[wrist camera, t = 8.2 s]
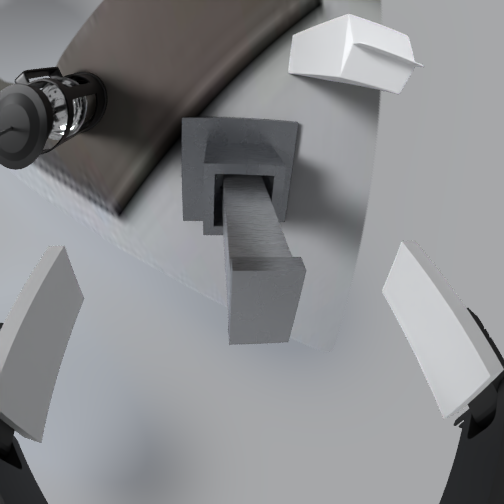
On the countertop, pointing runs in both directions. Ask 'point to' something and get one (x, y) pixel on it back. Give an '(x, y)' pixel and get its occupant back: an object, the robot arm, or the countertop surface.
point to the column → (257, 265)
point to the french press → (45, 112)
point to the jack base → (233, 163)
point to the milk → (354, 54)
